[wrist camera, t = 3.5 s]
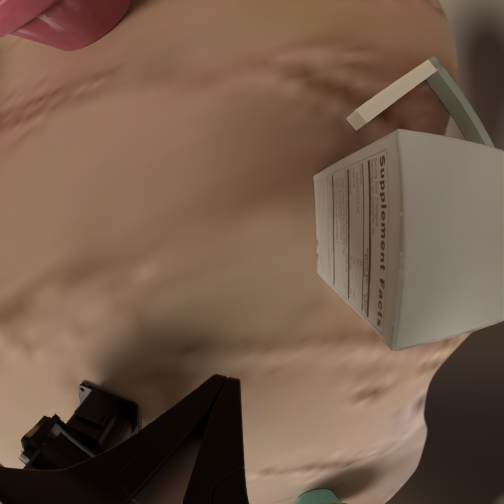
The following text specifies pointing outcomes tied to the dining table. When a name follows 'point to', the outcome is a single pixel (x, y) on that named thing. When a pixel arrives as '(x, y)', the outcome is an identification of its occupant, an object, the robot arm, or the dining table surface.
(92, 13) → the plant pot
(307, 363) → the dining table surface
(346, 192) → the supplement box
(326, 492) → the cupcake
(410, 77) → the bay
